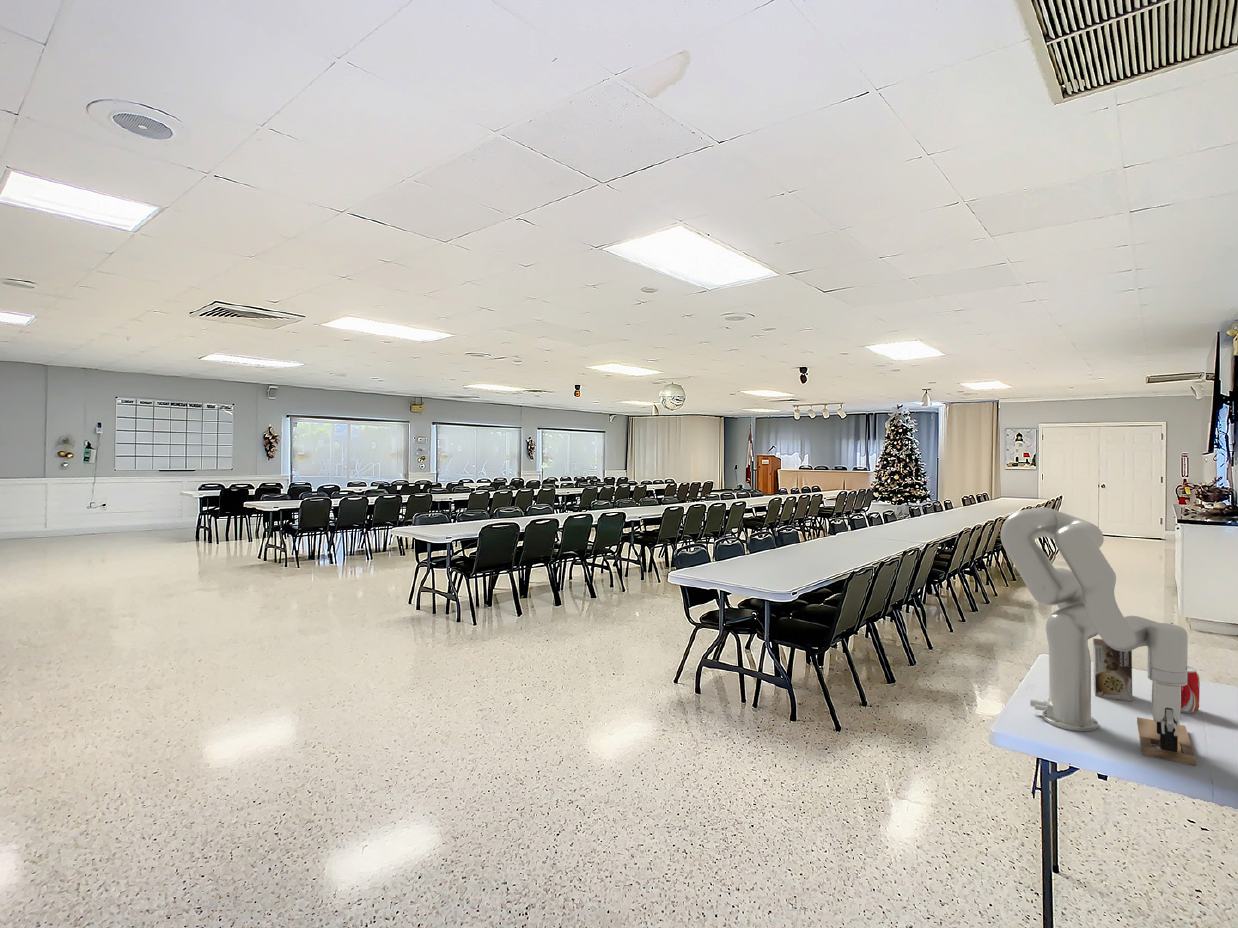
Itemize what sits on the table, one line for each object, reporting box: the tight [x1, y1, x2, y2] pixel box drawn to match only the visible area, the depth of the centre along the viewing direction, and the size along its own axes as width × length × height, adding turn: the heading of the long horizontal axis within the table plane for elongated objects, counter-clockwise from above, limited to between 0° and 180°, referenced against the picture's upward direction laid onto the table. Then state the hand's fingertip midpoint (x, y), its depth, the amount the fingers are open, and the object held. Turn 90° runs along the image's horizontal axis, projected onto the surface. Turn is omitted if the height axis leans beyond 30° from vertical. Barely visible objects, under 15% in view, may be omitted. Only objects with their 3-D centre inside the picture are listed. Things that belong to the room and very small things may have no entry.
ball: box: [1166, 743, 1181, 753], centre depth 161 cm, size 4×4×4 cm
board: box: [1136, 716, 1197, 767], centre depth 167 cm, size 10×22×2 cm, turn 144°
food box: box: [1092, 638, 1133, 702], centre depth 196 cm, size 9×6×16 cm
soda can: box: [1180, 665, 1201, 714], centre depth 185 cm, size 7×7×12 cm
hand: (1166, 742), depth 162 cm, fingers open, 9 cm apart
